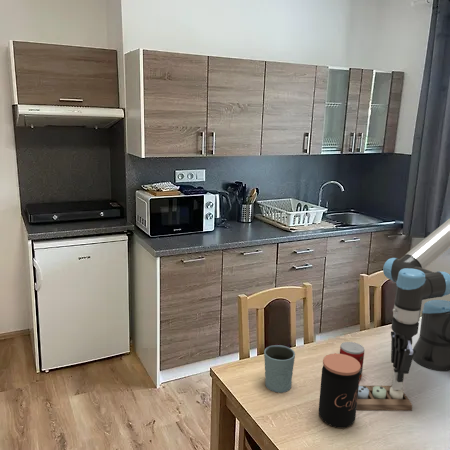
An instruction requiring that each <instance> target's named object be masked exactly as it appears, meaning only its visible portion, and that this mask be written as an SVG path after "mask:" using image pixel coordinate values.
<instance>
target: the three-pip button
mask: <svg viewBox="0 0 450 450" xmlns="http://www.w3.org/2000/svg"><path fill="white" fill-rule="evenodd" d="M366 386H367V385H364V386H359V388H358V397H357V399H368V395H369V389H368V388H367V387H366Z"/></svg>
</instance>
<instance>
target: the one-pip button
mask: <svg viewBox="0 0 450 450" xmlns="http://www.w3.org/2000/svg"><path fill="white" fill-rule="evenodd" d="M403 392H404V389H403V388H402V390H393V389H392V387H390V393H389V396H390V397H391V399H403ZM404 393H405V392H404Z"/></svg>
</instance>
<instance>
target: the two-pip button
mask: <svg viewBox="0 0 450 450" xmlns="http://www.w3.org/2000/svg"><path fill="white" fill-rule="evenodd" d="M373 386H374V387H373V392H372V396H373V398H374V399H385V398H386V389H385V388H383V387H381V386H382V385H373Z"/></svg>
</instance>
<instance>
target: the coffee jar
mask: <svg viewBox="0 0 450 450" xmlns="http://www.w3.org/2000/svg"><path fill="white" fill-rule="evenodd" d="M322 364H323V365H322V369H321V376H320V377H321V378H320V389H319V401H318V402H319V403H318V414H319V417H320V418H321V419H322V421H323V422H324V423H326V424H327V425H328V426H331V427H333V428H338V429H339V428H347V427H350V426H352V425H353V423H355V421H356V414H357V410H356V407H357V397H358V388H359V385H360V380H359V378H360V372H359V371H360V367H361V365H360V363H359V362H358V361H357V360H356V359H355V358H353V357H351V356H348V355H344V354H340V353H330V354H327V355H325V356H324V357H323V359H322Z"/></svg>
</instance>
